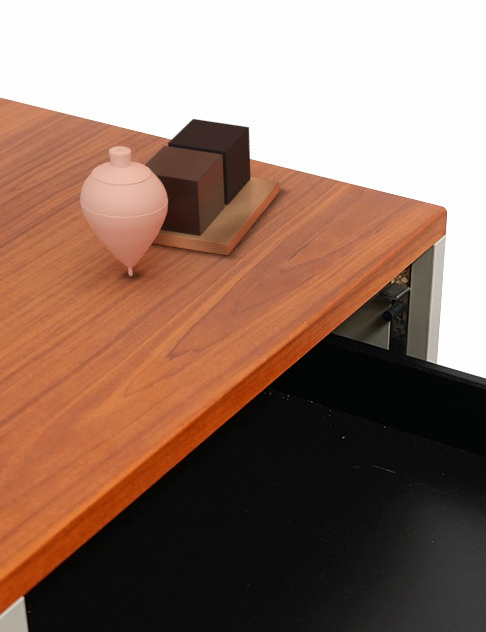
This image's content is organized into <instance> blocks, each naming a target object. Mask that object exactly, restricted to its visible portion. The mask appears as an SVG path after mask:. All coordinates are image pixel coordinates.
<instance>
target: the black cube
mask: <svg viewBox="0 0 486 632" xmlns="http://www.w3.org/2000/svg"><path fill="white" fill-rule="evenodd" d="M250 144H251V143H250V127H248V126H245V125H244V126H243V125H237V124H229V123H223V122H217V121H210V120H203V119H196V118H192V119H191V120H190V121H189V122H188V123H187V124H186V125H185V126H184V127H183V128H181V130H180V131H179V132H178V133H176V134H175V135H174V137H173V138H172V139H170V140H169V141H168V142H167V146H169V147H176V148H182V149H189V150H195V151H202V152H209V153H215V154H222V156H223V180H224V204H225V205H228V204H229V203H230V202H231V201H232V200H233V199H234V197H235V196H236V195H237V194H238V193H239V192H240V191H241V189H242V188H243V187H244V186H245V185H246V184H247V182H248V181H249V180H250V177H251V149H250V147H251V146H250Z"/></svg>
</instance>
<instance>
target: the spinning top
mask: <svg viewBox="0 0 486 632" xmlns="http://www.w3.org/2000/svg"><path fill="white" fill-rule="evenodd" d="M108 154H109V161H107V162H104V163H101V164H99V165H96V167H94V168H93V169H92V170H91V173H90V174H89V175H88V176H87V177H86V179H85V180H84V182H83V184H82V187H81V190H80V192H79V193H80V194H79V204H80V208H81V213H82V215H83V217H84V219H85V221H86V223H87V224H88V226H89V227H90V229H91V230H92V233H93V234H94V235H95V237H96V238H97V239H98V240H99V241H100V242H101V244H102V245H104V247H105V248H106V249H107V250H108V252H110V254H112V255H113V257H115V259H116V260H118V261H119V263H121V264H122V265H124V266H125V267H126V268H127V271H128V273H127V274H128V276H129V277H132V276H133V275H134V274H133V273H134V272H133V267H135V266H136V265H137V264H138V263H139V262H140V260H141V259H142V258H143V257H144V256H145V254H146V253H147V251H148V250H149V249H150V247H151V246H152V245H153V243H152V242H153V241H154V239H155V238H156V236H157V235H158V233H159V231H160V229H161V227H162V224H163V222H164V220H165V217H166V214H167V209H168V198H167V193H166V190H165V188H164V186H163V184H162V183H161V181H160V180H159V178H158V177H157V176H156V175H155V174H154V173H153V172H152V171H151V170H150V169H149V168H148V167H147V166H145V164H143V163H141V162H137V161H133V160H132V150H131V148H130V147H126V146H123V145H118V146H117V145H116V146H113V147H110V148H109V150H108Z"/></svg>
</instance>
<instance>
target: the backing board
mask: <svg viewBox="0 0 486 632" xmlns="http://www.w3.org/2000/svg"><path fill="white" fill-rule="evenodd" d="M144 165H145V166H147V167H148V168H149V169H150V170H151V171H152V172H153V173H154V174H155V175H156V176H157V177H158V178H159V180H160V181H161V183H162V184H163V186H164V188H165V190H166V193H167V198H168V209H167V214H166V217H165V220H164V222H163V224H162V227H161V229H160V231H159V233H158V235H157V236H156V238H155V239H154V241H153V242H152V245H153V244H154V245H160V246H165V247H166V246H167V247H171V248H178V249H179V248H180V249H185V250H191V251H196V252H197V251H198V252H204V253H209V254H217V255H223V256H229V255H230V254H231V253H232V251H234V249H235V247H236V246H238V244H239V243H240V242H241V240H242V239H243V238H244V236H245V235H246V234H247V233H248V232H249V231H250V229H251V228H252V227H253V225H254V224H255V223H256V221H258V219H259V218H260V217H261V215H262V214H263V213H264V212H265V211H266V210H267V208H268V206H269V205H271V203H272V202H273V200H274V199H275V198H276V197H277V196H278V194H280V181H279V180H273V179H266V178H261V177H260V178H259V177H253V176H250V180H249V181H248V182H247V184H246V185H245V186H244V187H243V188H242V189H241V191H240V192H239V193H238V194H237V195H236V196H235V197H234V199H233V200H232V201H231V202H230V203H229V204H228V205H225V204H224V180H223V156H222V154H215V153H209V152H202V151H195V150H189V149H182V148H176V147H169V146H168V145H163V146H162V147H161V148H160V150H158V151H157V152H156V153H155V154H154V155H153V156H152V157H151V158H150V159H149V160H148V161H147V162H145V164H144Z"/></svg>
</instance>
